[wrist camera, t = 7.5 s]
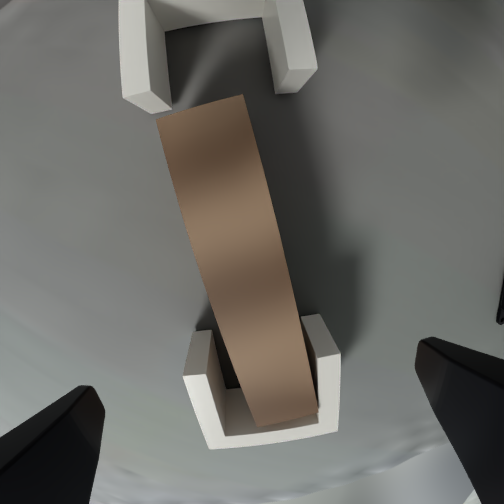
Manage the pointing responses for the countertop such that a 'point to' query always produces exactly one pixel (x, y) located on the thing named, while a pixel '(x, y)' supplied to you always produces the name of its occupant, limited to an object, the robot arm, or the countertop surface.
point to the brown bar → (240, 254)
